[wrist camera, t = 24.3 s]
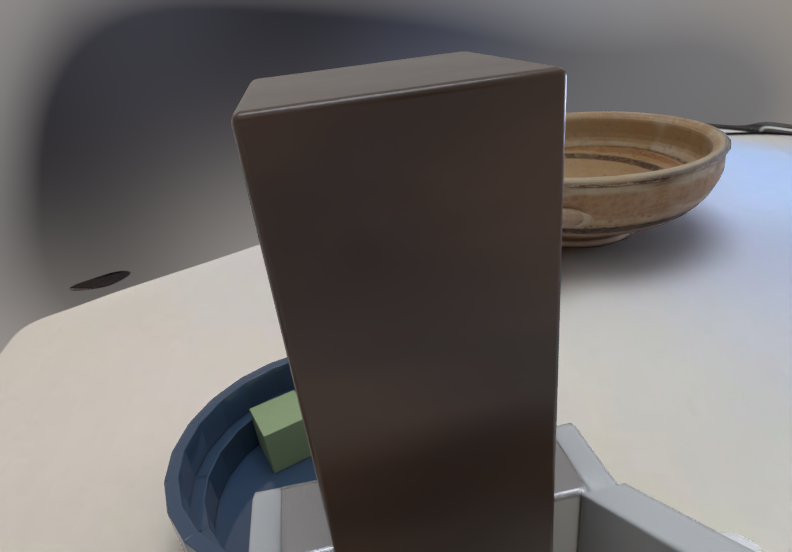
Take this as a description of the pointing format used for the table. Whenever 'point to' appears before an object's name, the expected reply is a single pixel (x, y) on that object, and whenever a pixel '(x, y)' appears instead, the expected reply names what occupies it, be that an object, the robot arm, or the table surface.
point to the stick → (418, 290)
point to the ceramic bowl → (634, 172)
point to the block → (281, 431)
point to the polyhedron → (742, 541)
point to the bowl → (227, 466)
